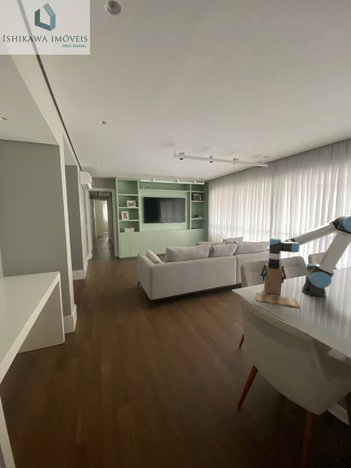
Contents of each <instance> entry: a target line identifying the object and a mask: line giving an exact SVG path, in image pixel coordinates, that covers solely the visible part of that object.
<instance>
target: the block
mask: <svg viewBox="0 0 351 468" xmlns="http://www.w3.org/2000/svg"><path fill="white" fill-rule="evenodd" d="M265 272H267V274H266V281H265V285H264V284H263V286H264V287H263V288H264V289H263V290H264V291H265V294H268V295H275V296H280V295H282V287H281V283H282V276H283V271H282V269H281V267H279V268H278V269H276V268H269V267H268V266H267V267H266V268H265V271H264V273H265ZM282 284H283V283H282Z"/></svg>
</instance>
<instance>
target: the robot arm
mask: <svg viewBox="0 0 351 468" xmlns="http://www.w3.org/2000/svg"><path fill="white" fill-rule="evenodd" d="M331 234H335V236H334V238H333V239H332V241H331V243H330V245H329V246H328V248H327V249H326V251H325V253H324V255H323V256H322V257H321V260H320V261H319V263H307V264H306V267H305V269H306V271H305V281H304V284H303V286H302V288H301V291H302V293H304V294H305V295H307V296H311V297H315V298H325V297H326V296H327V291H326V289H325V288H327V287H329V286H330V285H331V284H332V278H333V276H334V274H335V272H334V269H335V268H336V266H337V265H338V263H339V261H340V259H341V258H342V256H343V255H344V253H345V251H346V249H347V248H348V247H349V245H350V243H351V213H350V214H349V213H347V214H343V215H341V216H339V217H336V218H335V219H332V220H330V221H328V223H326V224H323V225H321V226H318V227H316V228H315V229H311V230H309V231H306V232H304V233H302V234H299V235H297V236H294V237H291V238H288V239H285V240H284V241H282V240H281V238H275V237H272V238H270V239H269V249H268V263H264V264H263V268H262V270H261V272H260V276H261V277H262V281H263V286H264V285H265V281H266V274H267V272H265V268H266V267H267V266H268V267H269V268H276V269H278V268H280V269H281V270H282V283H281V288H282V286H283V284H284V282H285V281H284V279H285V280H286V279H287V275H286V273H285V266H284V265H280V261H281V260H280V259H281V258H280V257H281V252H286V253H299V251H300V246H303V245H304V244H307V243H310V242H313V241H316V240H318V239H321V238H323V237H326V236H329V235H331Z"/></svg>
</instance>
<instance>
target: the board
mask: <svg viewBox="0 0 351 468" xmlns="http://www.w3.org/2000/svg"><path fill="white" fill-rule="evenodd" d="M256 302H259V303H265V304H270V305H278V306H283V307H289V308H296V309H300V307H301V306H300V305H299V302H298V300H297V298H294V297H288V296H280V295H275V294H267V293H260V292H257V293H256Z"/></svg>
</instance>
